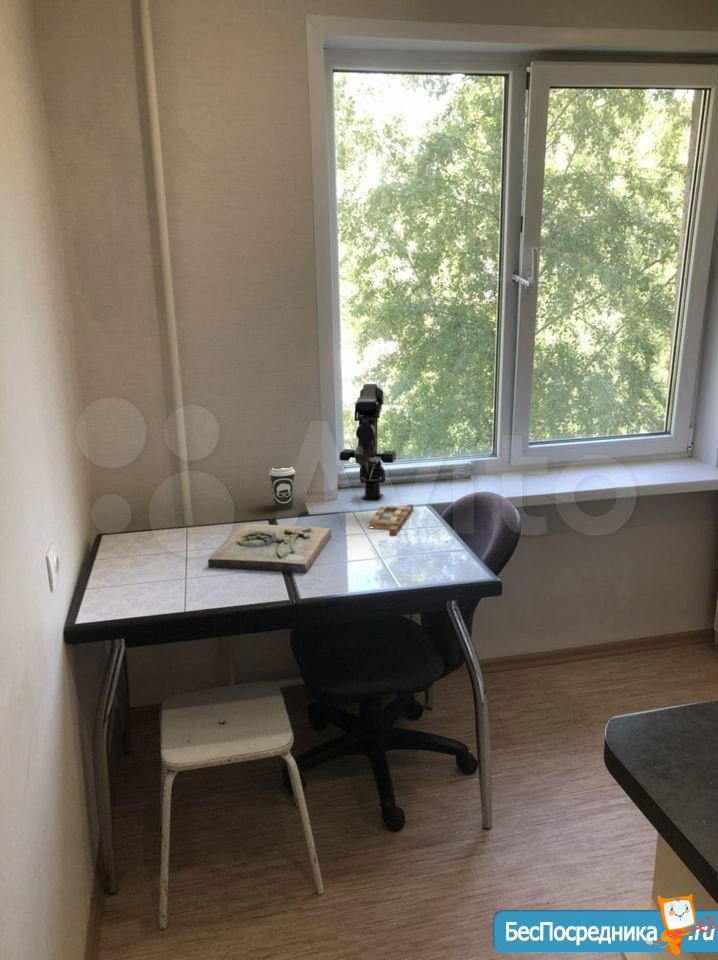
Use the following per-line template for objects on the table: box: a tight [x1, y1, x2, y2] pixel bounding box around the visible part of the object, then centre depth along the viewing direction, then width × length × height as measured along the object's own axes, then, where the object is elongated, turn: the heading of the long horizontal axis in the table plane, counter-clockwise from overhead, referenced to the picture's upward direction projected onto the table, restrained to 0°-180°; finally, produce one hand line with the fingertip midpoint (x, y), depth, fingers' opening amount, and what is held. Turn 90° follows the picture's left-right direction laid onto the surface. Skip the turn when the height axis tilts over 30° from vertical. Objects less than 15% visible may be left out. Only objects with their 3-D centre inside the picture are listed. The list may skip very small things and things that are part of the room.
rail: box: [388, 504, 414, 536], centre depth 243 cm, size 26×2×3 cm, turn 163°
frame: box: [368, 505, 405, 530], centre depth 246 cm, size 18×8×2 cm, turn 165°
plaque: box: [207, 523, 332, 574], centre depth 220 cm, size 30×7×30 cm
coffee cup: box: [268, 466, 296, 511], centre depth 260 cm, size 10×10×15 cm
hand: (368, 480), depth 251 cm, fingers closed
